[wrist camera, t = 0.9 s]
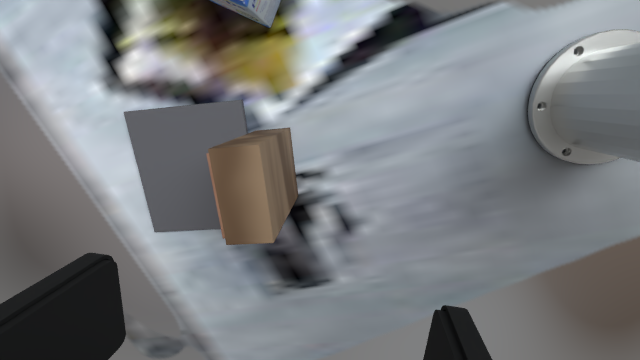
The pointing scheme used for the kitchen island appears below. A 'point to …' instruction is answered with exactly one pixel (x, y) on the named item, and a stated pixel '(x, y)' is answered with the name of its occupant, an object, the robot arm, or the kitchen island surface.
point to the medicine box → (253, 9)
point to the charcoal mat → (182, 160)
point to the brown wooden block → (253, 185)
